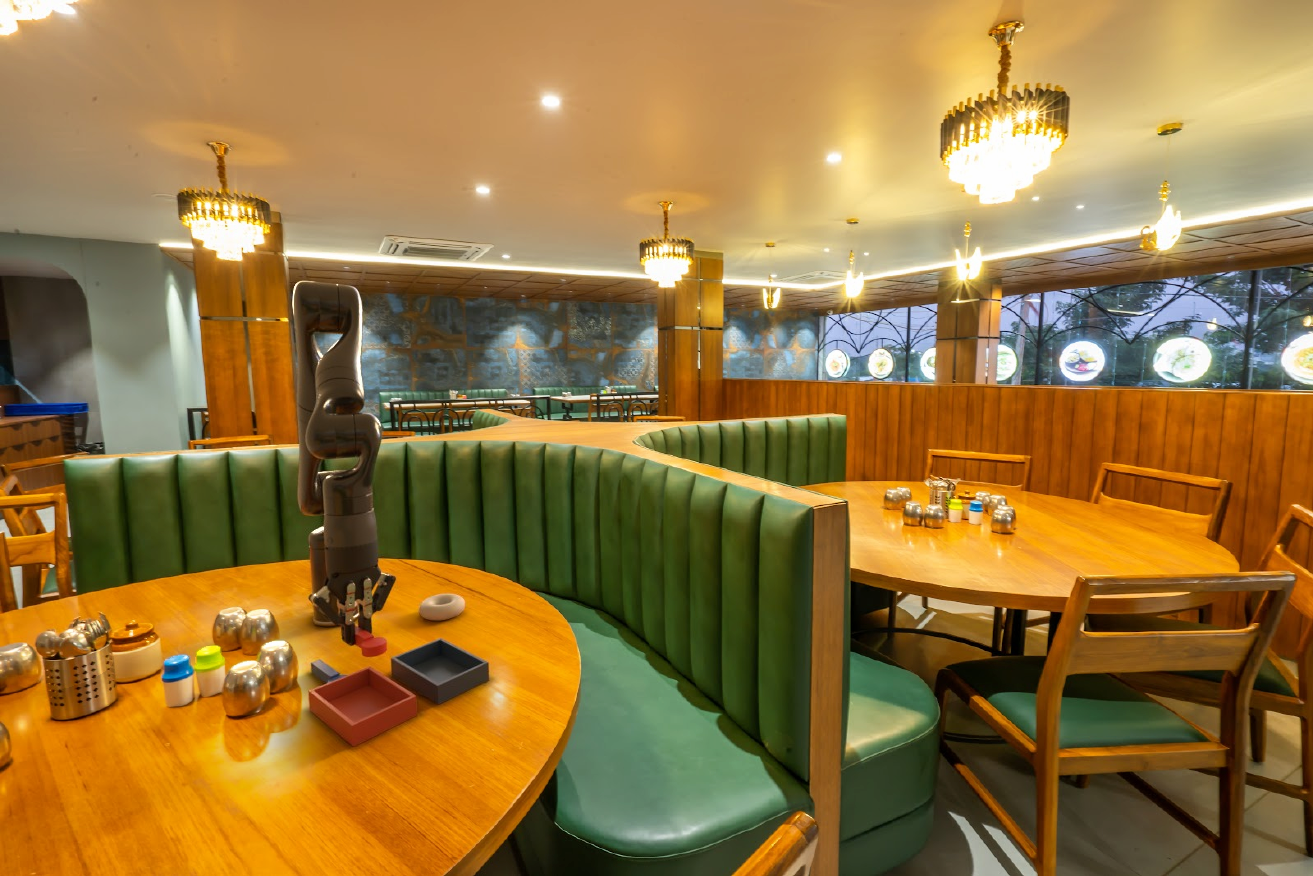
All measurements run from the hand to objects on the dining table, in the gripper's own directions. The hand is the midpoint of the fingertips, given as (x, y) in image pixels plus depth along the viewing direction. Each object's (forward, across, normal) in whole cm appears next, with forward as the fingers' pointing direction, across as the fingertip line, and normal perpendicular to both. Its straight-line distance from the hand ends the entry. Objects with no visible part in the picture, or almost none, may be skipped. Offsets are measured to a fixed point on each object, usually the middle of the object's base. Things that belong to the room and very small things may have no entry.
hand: (357, 641), depth 97 cm
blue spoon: (+12, -1, -13) cm, 18 cm away
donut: (+12, -30, -23) cm, 39 cm away
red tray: (+12, 0, +1) cm, 12 cm away
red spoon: (0, 0, +2) cm, 2 cm away
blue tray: (+12, -14, +1) cm, 18 cm away
